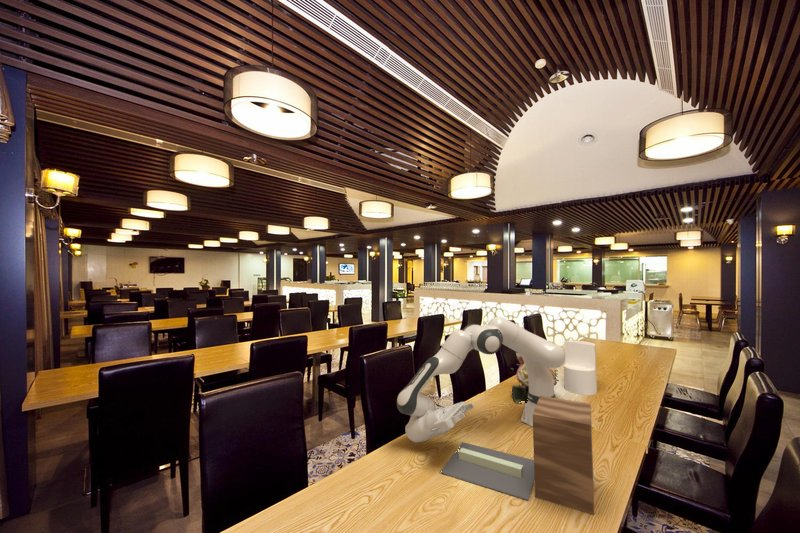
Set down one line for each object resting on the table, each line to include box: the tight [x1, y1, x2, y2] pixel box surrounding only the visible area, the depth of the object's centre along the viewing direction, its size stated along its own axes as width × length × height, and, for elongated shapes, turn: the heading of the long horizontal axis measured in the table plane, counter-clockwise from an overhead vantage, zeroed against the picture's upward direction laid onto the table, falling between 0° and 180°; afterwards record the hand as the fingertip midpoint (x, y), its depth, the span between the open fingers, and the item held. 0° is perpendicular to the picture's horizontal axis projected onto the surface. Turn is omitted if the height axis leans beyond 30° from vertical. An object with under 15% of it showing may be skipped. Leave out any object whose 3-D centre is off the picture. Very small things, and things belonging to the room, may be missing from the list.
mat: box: [439, 441, 535, 502], centre depth 119 cm, size 24×30×1 cm
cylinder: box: [563, 340, 598, 396], centre depth 197 cm, size 17×17×28 cm
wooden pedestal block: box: [532, 396, 595, 516], centre depth 107 cm, size 18×16×26 cm
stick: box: [459, 448, 523, 478], centre depth 119 cm, size 3×23×3 cm, turn 57°
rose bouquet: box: [506, 352, 560, 404], centre depth 186 cm, size 26×29×30 cm
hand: (468, 409), depth 124 cm, fingers open, 8 cm apart
